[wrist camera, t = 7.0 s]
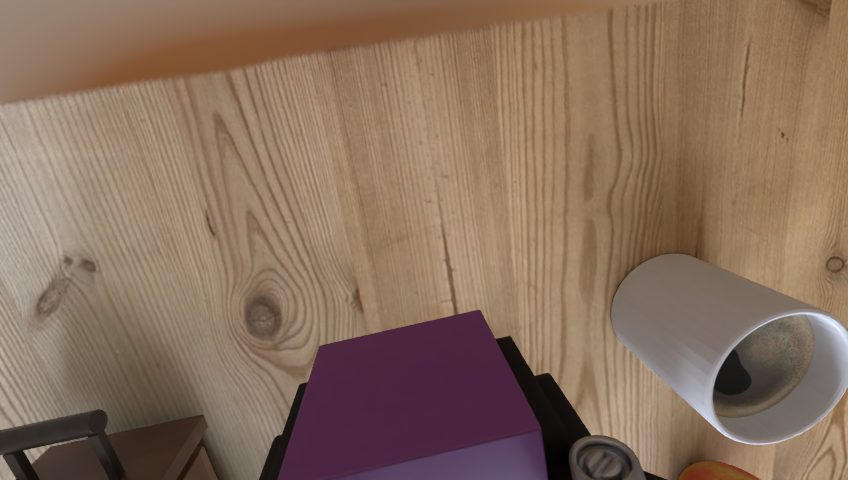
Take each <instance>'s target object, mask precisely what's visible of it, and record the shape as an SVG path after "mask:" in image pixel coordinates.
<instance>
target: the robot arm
mask: <svg viewBox="0 0 848 480" xmlns="http://www.w3.org/2000/svg"><path fill="white" fill-rule="evenodd" d="M495 340H496V342H497V343H498V345H499V347H500V349H501V351H502V353H503V355H504V357H505V359H506V361H507V363H508V365H509V367H510V369H511V370H512V372H513V374H514V376H515V378H516V380H517V382H518V384H519V386H520V388H521V390H522V392H523V394H524V396H525V398H526V399H527V401H528V403H529V405H530V407H531V409H532V411H533V413H534V415H535V417H536V419H537V421H538V423H539V425H540V426H541V431H542V438H543V445H544V452H545V459H546V466H547V473H548V480H667V479H664V478H661V477H659V476H656V475H653V474H651V473H648V472H645V471H643V470H642V467H641V465H640V462H639V460H638V458H637V457H636V455H635V453H634V452H633V451H632V450H631V449H630V448H629V447H628V446H627V445H626V444H624V443H622V442H620V441H619V440H617V439H614V438H611V437H608V436H601V435H592V436H591V434H590V433H589V431H588V430H587V428H586V427H585V425H584V424H583V422H582V421H581V419H580V418H579V416H578V415H577V413H576V412H575V410H574V409H573V407H572V406H571V404H570V403H569V401H568V400H567V398H566V397H565V395H564V394H563V392H562V391H561V389H560V388H559V386H558V385H557V383H556V382H555V380H554V379H553V377H552V376H551V375H550V374H549V373H545V374H541V375H537V376H534V375H533V373H532V371H531V370H530V368H529V366H528V365H527V363H526V361H525V360H524V358H523V356H522V355H521V353H520V351H519V350H518V348H517V346H516V345H515V343H514V341H513V340H512V338H511V337H510V336H507V337H503V338H498V339H495ZM307 384H308V382H306V383H302V384H300V385H299V387H298V390H297V393H296V396H295V399H294V402H293V404H292V407H291V410H290V413H289V416H288V419H287V422H286V425H285V428H284V431H283V434H282V435H279V436H277V437H275V439H274V441H273V443H272V445H271V448H270V451H269V454H268V456H267V459H266V462H265V465H264V467H263V470H262V473H261V476H260V478H259V480H277V479H278V476H279V473H280V470H281V466H282V463H283V460H284V457H285V454H286V450H287V447H288V444H289V441H290V438H291V435H292V431H293V428H294V425H295V422H296V419H297V415H298V412H299V409H300V406H301V403H302V399H303V396H304V393H305V390H306V387H307Z"/></svg>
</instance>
